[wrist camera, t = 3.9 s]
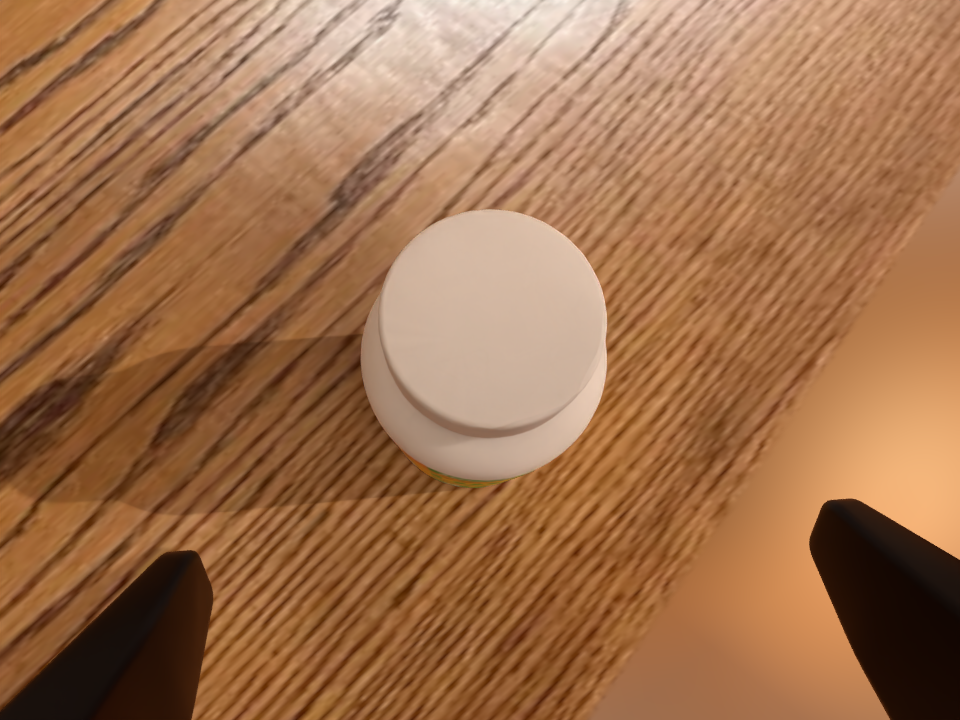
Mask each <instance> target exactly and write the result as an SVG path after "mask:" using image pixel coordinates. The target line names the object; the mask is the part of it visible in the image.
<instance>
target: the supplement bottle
mask: <svg viewBox="0 0 960 720" xmlns="http://www.w3.org/2000/svg"><path fill="white" fill-rule="evenodd" d="M606 330H607V313H606V307H605V300H604V296H603V292H602V289H601V286H600V283H599V281H598V279H597V276H596V274H595V272H594V271H593V269H592V267H591V265H590V264H589V262H588V261H587V259H586V258H585V256H584V255H583V254H582V252H581V251H580V250H579V249H578V248H577V247H576V246H575V245H574V244H573V243H572V242H571V241H570V240H569V239H568V238H567V237H566V236H565V235H563V234H562V233H560V232H559V231H557V230H556V229H554V228H553V227H551V226H550V225H548V224H547V223H544V222H542V221H540V220H538V219H535V218H533V217H531V216H528V215H525V214H521V213H517V212H512V211H507V210H494V209H485V210H474V211H468V212H463V213H459V214H456V215H453V216H450V217H447V218H444V219H442V220H440V221H438V222H436V223H434V224H432V225H431V226H429V227H427V228H426V229H424V230H423V231H422V232H420V233H419V234H418V235H416V236H415V237H414V238H413V239H412V240H411V241H410V242H409V243H408V244H407V245H406V246H405V248H404V249H403V250H402V251H401V252H400V253H399V255H398V256H397V258H396V259H395V261H394V262H393V264H392V266H391V268H390V269H389V271H388V273H387V276H386V279H385V281H384V284H383V287H382V290H381V293H380V294H379V296H378V297H377V299H376V301H375V303H374V304H373V307H372V309H371V311H370V313H369V316H368V319H367V322H366V325H365V329H364V333H363V337H362V343H361V370H362V378H363V383H364V387H365V391H366V395H367V397H368V400H369V403H370V405H371V408H372V410H373V412H374V414H375V416H376V418H377V419H378V422H379V423H380V425H381V426H382V427H383V429H384V430H385V432H386V433H387V434H388V436H389V437H390V438H391V439H392V440H393V441H394V442H395V444H396V445H397V446H398V447H399V448H400V450H401V451H402V452H403V454H404V455H405V456H406V457H407V458H408V459H409V460H410V461H411V462H412V463H413V464H414V465H415V466H416V467H417V468H419V469H420V470H421V471H423V472H424V473H425V474H427V475H429V476H431V477H432V478H434V479H436V480H438V481H441V482H443V483H446V484H450V485H453V486H458V487H466V488H479V487H488V486H493V485H497V484H500V483H503V482H506V481H508V480H511V479H514V478H517V477H520V476H522V475H524V474H527V473H530V472H532V471H535V470H537V469H538V468H540V467H542V466H544V465H545V464H547V463H549V462H550V461H552V460H553V459H555V458H556V457H558V456H559V455H560V454H561V453H563V452H564V451H565V450H566V449H568V448H569V447H570V446H571V445H572V444H573V443H574V442H575V441H576V440H577V438H578V437H579V436H580V435H581V434H582V432H583V431H584V430H585V428H586V427H587V426H588V424H589V422H590V420H591V418H592V417H593V415H594V413H595V411H596V409H597V406H598V404H599V402H600V399H601V396H602V392H603V388H604V383H605V378H606V370H607V352H606V343H605V339H606Z"/></svg>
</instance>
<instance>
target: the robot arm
mask: <svg viewBox="0 0 960 720" xmlns="http://www.w3.org/2000/svg"><path fill="white" fill-rule="evenodd" d="M809 545H810V551H811V555H812V557H813V560H814V562H815V564H816V567H817V569H818V571H819V574H820V576H821V578H822V581H823V583H824V585H825V588H826V590H827V592H828V595H829V597H830V599H831V602H832V604H833V606H834V608H835V611H836V613H837V615H838V618H839V620H840V622H841V625H842V627H843V629H844V632H845V634H846V636H847V639H848V640H849V643H850V645H851V647H852V649H853V651H854V654H855V656H856V657H857V659H858V661H859V663H860V665H861V667H862V669H863V671H864V673H865V674H866V676H867V678H868V680H869V682H870V684H871V685H872V687H873V689H874V691H875V693H876V694H877V696H878V698H879V700H880V702H881V703H882V705H883V707H884V709H885V711H886V713H887V714H888V716H889V718H890V720H960V560H959V559H957V558H955V557H954V556H952V555H950V554H949V553H947V552H945V551H944V550H942V549H940V548H938V547H937V546H935V545H934V544H932V543H930V542H929V541H927V540H925V539H923V538H922V537H920V536H918V535H916V534H915V533H913V532H912V531H910V530H908V529H906V528H905V527H903V526H901V525H899V524H898V523H896V522H895V521H893V520H891V519H890V518H888V517H886V516H885V515H883V514H881V513H880V512H878V511H876V510H874V509H873V508H871V507H869V506H868V505H866V504H864V503H862V502H861V501H858V500H856V499H838V500H830V501H827V502H826V503H824V504H823V506H822V508H821V510H820V513H819V515H818V518H817V521H816V523H815V525H814V528H813V531H812V533H811V536H810V541H809ZM212 605H213V591H212V587H211V584H210V581H209V579H208V576H207V574H206V571H205V569H204V566H203V563H202V561H201V558H200V556H199V554H198V553H197V552H195V551H192V550H187V551H175V552H167V553H164V554H163V555H161V556H160V557H159V558H157V559H156V560H155V561H154V562H153V563H152V564H151V565H150V566H149V567H148V568H147V569H146V570H145V571H144V572H143V573H142V574H141V575H140V576H139V577H138V578H137V579H136V580H135V581H134V582H133V583H132V584H131V585H130V586H129V587H128V588H126V589H125V590H124V591H123V592H122V593H121V594H120V595H119V596H118V597H117V598H116V599H115V600H114V601H113V602H112V603H111V604H110V605H109V606H108V607H107V608H106V609H105V610H104V611H103V612H102V613H101V614H100V615H99V616H98V617H97V618H96V619H94V620H93V621H92V622H91V623H90V624H89V625H88V626H87V627H86V628H85V629H84V630H83V631H82V632H81V633H80V634H79V635H78V636H77V637H76V638H75V639H74V640H73V641H72V642H71V643H70V644H69V645H68V646H67V647H66V648H65V649H63V650H62V651H61V652H60V653H59V654H58V655H57V656H56V657H55V658H54V659H53V660H52V661H51V662H50V663H49V664H48V665H47V666H46V667H45V668H44V669H43V670H42V671H41V672H40V673H39V674H38V675H37V676H36V677H35V678H34V679H33V680H31V681H30V682H29V683H28V684H27V685H26V686H25V687H24V688H23V689H22V690H21V691H20V692H19V693H18V694H17V695H16V696H15V697H14V698H13V699H12V700H11V701H10V702H9V703H8V704H7V705H6V706H5V707H4V708H3V709H2V710H1V711H0V720H191V719H192V714H193V709H194V704H195V699H196V694H197V688H198V683H199V677H200V672H201V666H202V661H203V655H204V650H205V644H206V639H207V633H208V627H209V622H210V616H211V611H212Z"/></svg>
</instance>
